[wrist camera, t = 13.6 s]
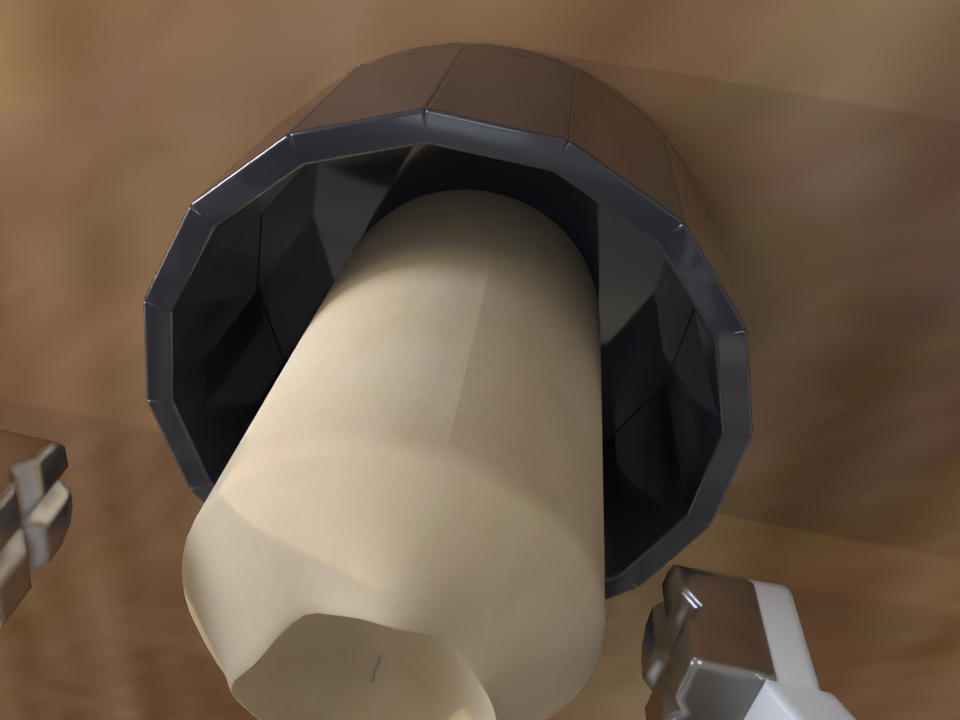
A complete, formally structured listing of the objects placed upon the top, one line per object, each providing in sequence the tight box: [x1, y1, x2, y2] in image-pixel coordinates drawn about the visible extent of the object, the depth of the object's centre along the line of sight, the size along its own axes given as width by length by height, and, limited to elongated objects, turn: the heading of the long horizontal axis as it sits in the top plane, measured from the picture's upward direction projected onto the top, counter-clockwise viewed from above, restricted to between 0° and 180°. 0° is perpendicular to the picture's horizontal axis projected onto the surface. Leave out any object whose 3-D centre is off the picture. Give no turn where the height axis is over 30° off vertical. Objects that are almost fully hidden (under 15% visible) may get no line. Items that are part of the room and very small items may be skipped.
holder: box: [143, 43, 753, 600], centre depth 16 cm, size 10×10×5 cm
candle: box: [182, 190, 605, 720], centre depth 14 cm, size 6×6×10 cm
